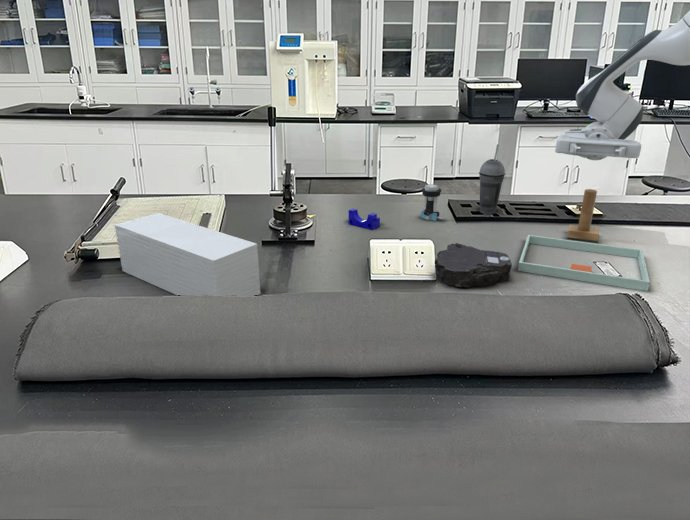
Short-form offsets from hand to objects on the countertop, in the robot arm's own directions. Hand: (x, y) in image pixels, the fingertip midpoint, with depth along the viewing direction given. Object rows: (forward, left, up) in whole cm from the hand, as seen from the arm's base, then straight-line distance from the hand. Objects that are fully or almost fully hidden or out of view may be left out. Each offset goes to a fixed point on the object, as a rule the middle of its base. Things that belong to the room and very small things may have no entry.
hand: (597, 152), depth 133 cm
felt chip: (0, +32, -20) cm, 38 cm away
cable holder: (+55, +19, -21) cm, 62 cm away
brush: (0, +8, -21) cm, 22 cm away
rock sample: (+22, +41, -21) cm, 51 cm away
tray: (0, +26, -21) cm, 33 cm away
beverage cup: (+26, -7, -21) cm, 34 cm away
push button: (+39, +8, -21) cm, 45 cm away
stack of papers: (+75, +68, -21) cm, 104 cm away
